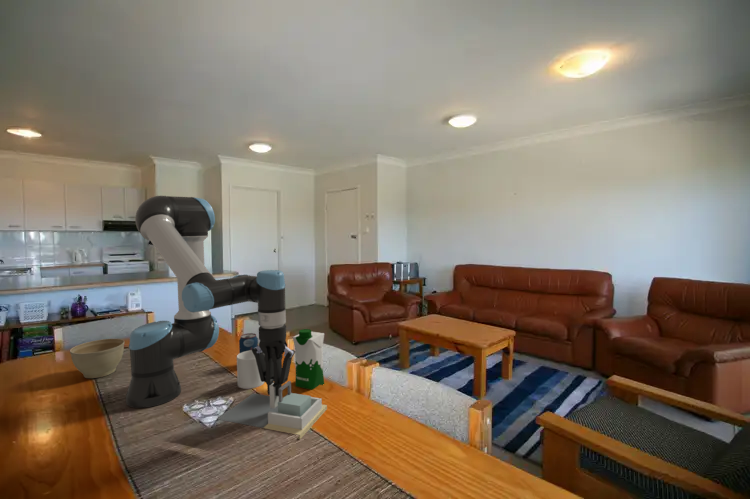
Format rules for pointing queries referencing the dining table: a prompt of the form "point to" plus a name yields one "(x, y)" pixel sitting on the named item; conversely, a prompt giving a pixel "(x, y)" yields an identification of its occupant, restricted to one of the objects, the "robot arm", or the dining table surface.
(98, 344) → the planter bowl
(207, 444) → the dining table surface
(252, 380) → the mug
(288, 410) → the grey boxy piece
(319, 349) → the milk carton
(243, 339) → the soda can
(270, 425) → the dock
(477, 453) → the dining table surface
